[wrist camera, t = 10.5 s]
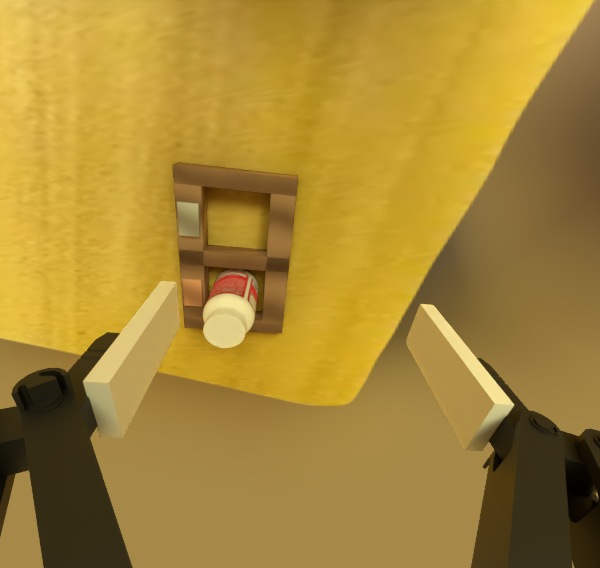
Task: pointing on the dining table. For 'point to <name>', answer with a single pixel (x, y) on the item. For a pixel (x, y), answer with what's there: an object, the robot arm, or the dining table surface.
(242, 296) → the pill bottle
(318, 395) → the dining table surface
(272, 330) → the socket board
